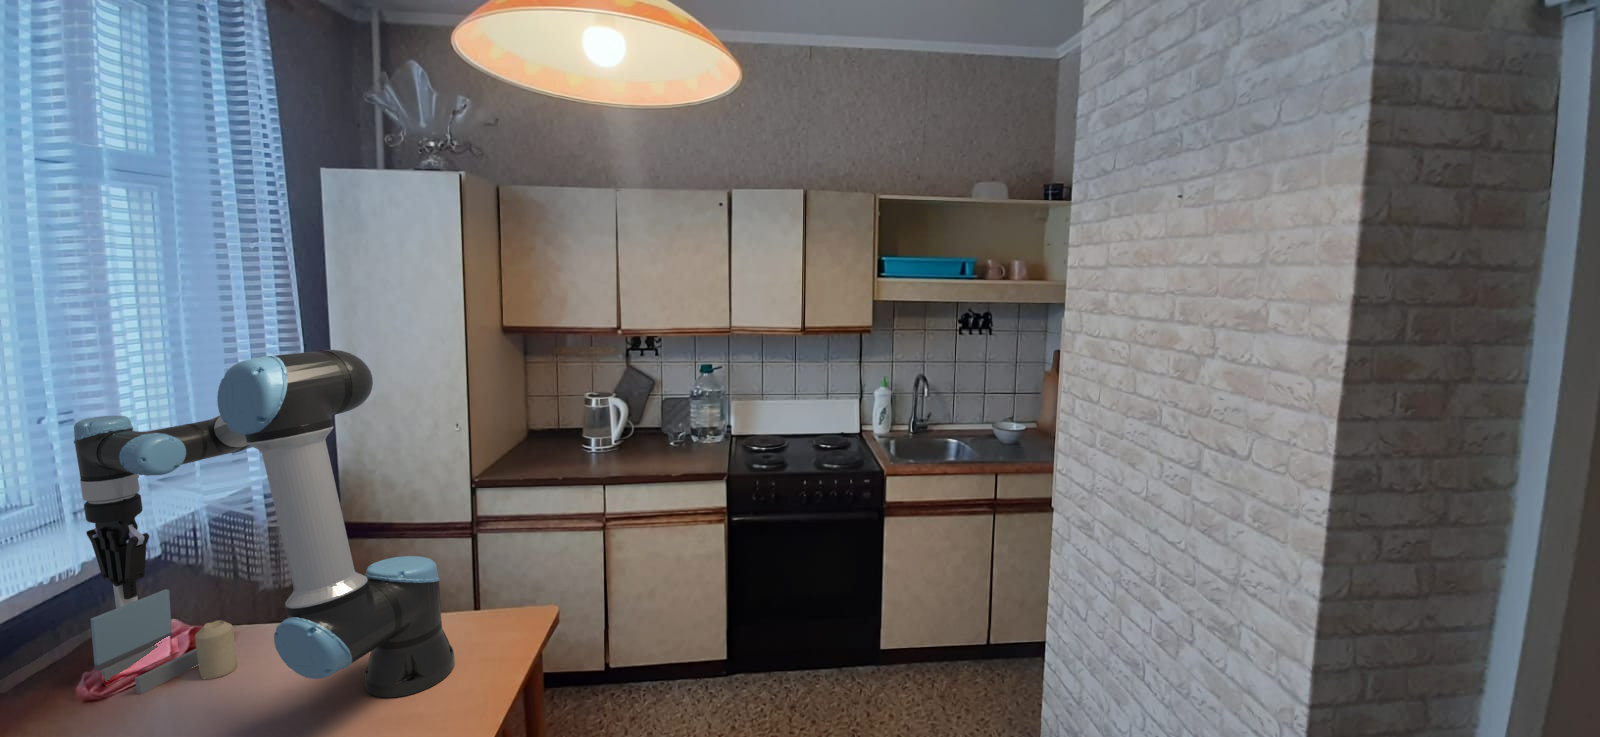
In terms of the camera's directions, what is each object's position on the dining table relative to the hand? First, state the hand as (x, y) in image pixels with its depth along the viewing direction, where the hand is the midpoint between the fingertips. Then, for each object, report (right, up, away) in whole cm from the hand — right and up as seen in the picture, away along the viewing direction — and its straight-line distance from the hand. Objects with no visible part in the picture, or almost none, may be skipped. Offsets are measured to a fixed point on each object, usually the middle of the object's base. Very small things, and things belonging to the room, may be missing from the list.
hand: (128, 612), depth 128 cm
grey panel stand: (+6, -12, 0) cm, 13 cm away
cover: (+1, -3, 0) cm, 4 cm away
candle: (+18, -12, 0) cm, 21 cm away
